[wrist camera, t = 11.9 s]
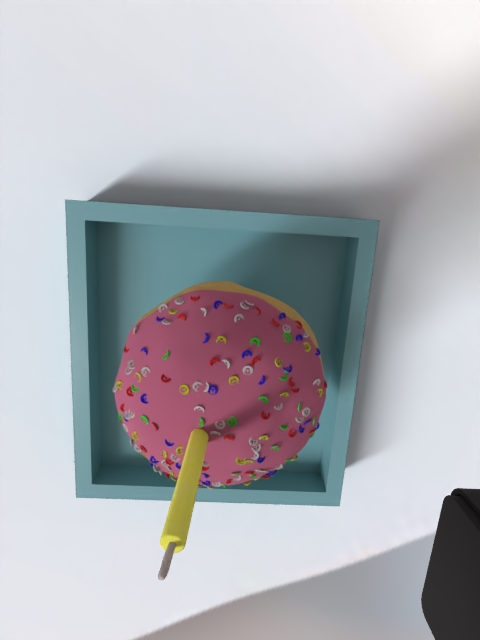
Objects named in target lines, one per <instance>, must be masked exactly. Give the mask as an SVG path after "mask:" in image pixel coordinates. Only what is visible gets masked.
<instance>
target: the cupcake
mask: <svg viewBox="0 0 480 640" xmlns="http://www.w3.org/2000/svg"><path fill="white" fill-rule="evenodd" d="M326 388H327V383H326V381H325V379H324V371H323V365H322V360H321V355H320V350H319V347H318V343H317V340H316V338H315V335H314V333H313V331H312V330H311V328H310V326H309V325H308V324H307V322H306V321H305V320H304V319H303V318H302V317H301V316H300V315H299V314H298V313H297V312H296V311H295V310H294V309H293V308H291V307H290V306H288V305H287V304H285V303H283V302H282V301H280V300H278V299H276V298H274V297H271V296H269V295H266V294H263V293H261V292H258V291H255V290H251V289H248V288H246V287H243V286H241V285H239V284H236V283H234V282H230V281H212V282H204V283H200V284H196V285H193V286H191V287H188V288H186V289H184V290H182V291H181V292H179V293H177V294H175V295H174V296H172V297H170V298H169V299H167V300H166V301H164V302H162V303H161V304H159V305H158V306H156V307H155V308H153V309H152V310H151V311H149V312H148V313H146V314H145V315H143V316H142V317H141V318H140V319H139V320H138V321H137V322H136V323H135V325H134V326H133V327H132V329H131V330H130V332H129V334H128V337H127V340H126V343H125V347H124V352H123V357H122V362H121V365H120V369H119V371H118V374H117V377H116V381H115V384H114V386H113V389H112V390H113V392H114V393H115V401H116V406H117V410H118V413H119V414H118V417H119V420H120V422H121V423H122V424H123V428H124V430H125V431H126V432H127V434H128V435H129V437H130V444H131V446H132V445H133V443H134V444H135V446H134V449H135V451H136V452H138V453H139V452H140V453H141V454H142V455H143V456H144V457H146V458H147V459H148V460H149V461H150V462H151V463H150V464H149V465H150V466H153V469H154V471H155V472H159V473H160V475H163V472H165V475H166V477H167V478H169V475H171V478H172V480H174V481H177V484H176V487H175V490H174V494H173V497H172V501H171V504H170V508H169V511H168V515H167V518H166V522H165V525H164V529H163V532H162V536H161V540H160V544H161V546H162V548H163V549H164V550H166V552H165V555H164V558H163V561H162V565H161V568H160V571H159V574H158V579H159V580H164V579H165V577H166V576H167V573H168V571H169V567H170V563H171V559H172V556H173V553H177V552H180V551H182V550H183V549H184V547H185V544H186V540H187V535H188V530H189V526H190V521H191V517H192V512H193V507H194V503H195V498H196V493H197V489H198V487H201V486H202V485H203V486H206V487H207V488H209V489H213V488H214V487H220V486H221V487H223V488H226V486H227V485H235V484H240V483H244V485H249V484H250V483H251V482H252V480H253V479H254V480H257V479H259V478H260V477H261V476H262V477H263V478H264V479H268V478H270V476H271V475H274V474H275V473H276V472H277V470H278V469H281V468H284V467H283V465H284V464H286V463H287V462H289V461H290V460H292V461H293V460H296V459H297V458H298V456H297V455H296V454H297V453H298V452H299V451H300V450H301V449H302V448H303V447H304V446H305V445H306V443H307V442H308V440H309V439H310V438H311V437H313V435H314V433H315V431H316V430H317V429H318V428H319V425H320V424H319V422H318V421H319V418H320V415H321V412H322V410H323V407H324V403H325V399H326ZM317 424H318V425H317ZM316 426H317V428H316ZM312 433H313V434H312ZM136 447H137V448H138V450H137V449H136ZM294 456H295V457H294ZM293 458H294V459H293ZM155 467H156V468H155ZM157 468H159V469H158V470H156V469H157ZM274 470H275V471H274ZM272 472H274V473H272ZM264 475H265V476H266V475H268V476H267V477H265V476H264ZM173 476H174V478H176V477H177V478H176V479H174V478H173ZM247 482H249V483H247ZM246 483H247V484H246Z"/></svg>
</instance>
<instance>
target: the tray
mask: <svg viewBox="0 0 480 640" xmlns="http://www.w3.org/2000/svg"><path fill="white" fill-rule="evenodd" d="M65 208H66V236H67V263H68V290H69V317H70V344H71V372H72V399H73V426H74V453H75V480H76V498H105V499H135V500H165V501H172V497H173V494H174V490H175V487H176V484H177V481H174V480H172V478H171V475H169V478H167V477H166V475H165V472H163V475H160V473H159V472H155V471H154V469H153V466H150V465H149V464H150V463H151V462H150V461H149V460H148V459H147V458H146V457H144V456H143V455H142V454H141V453H140V452H139V453H138V452H136V451H135V449H134V446H135V444H134V443H133V445H132V446H131V444H130V437H129V435H128V434H127V432H126V431H125V430H124V428H123V424H122V423H121V422H120V420H119V417H118V414H119V413H118V410H117V406H116V401H115V393H114V392H113V390H112V389H113V386H114V384H115V381H116V377H117V374H118V371H119V369H120V365H121V362H122V357H123V352H124V347H125V343H126V340H127V337H128V334H129V332H130V330H131V329H132V327H133V326H134V325H135V323H136V322H137V321H138V320H139V319H140V318H141V317H142V316H143V315H145V314H146V313H148V312H149V311H151V310H152V309H153V308H155V307H156V306H158V305H159V304H161V303H162V302H164V301H166V300H167V299H169V298H170V297H172V296H174V295H175V294H177V293H179V292H181V291H182V290H184V289H186V288H188V287H191V286H193V285H196V284H200V283H204V282H212V281H230V282H234V283H236V284H239V285H241V286H243V287H246V288H248V289H251V290H255V291H258V292H261V293H263V294H266V295H269V296H271V297H274V298H276V299H278V300H280V301H282V302H283V303H285V304H287V305H288V306H290V307H291V308H293V309H294V310H295V311H296V312H297V313H298V314H299V315H300V316H301V317H302V318H303V319H304V320H305V321H306V322H307V324H308V325H309V326H310V328H311V330H312V331H313V333H314V335H315V338H316V340H317V343H318V347H319V350H320V355H321V360H322V365H323V371H324V379H325V381H326V383H327V388H326V399H325V403H324V407H323V410H322V412H321V415H320V418H319V421H318V422H319V424H320V425H319V428H318V429H317V430H316V431H315V433H314V435H313V437H311V438H310V439H309V440H308V442H307V443H306V445H305V446H304V447H303V448H302V449H301V450H300V451H299V452H298V453H297V454H296V455H297V456H298V458H297V459H296V460H293V461H292V460H290V461H289V462H287V463H286V464H284V465H283V467H284V468H281V469H278V470H277V472H276V473H275V474H274V475H271V476H270V478H268V479H264V478H263V477H262V476H261V477H260V478H259V479H257V480H254V479H253V480H252V482H251V483H250V484H249V485H244V483H240V484H235V485H227V486H226V488H223V487H221V486H220V487H214V488H213V489H209V488H207V487H206V486H203V485H202V486H201V487H198V489H197V493H196V498H195V502H225V503H255V504H285V505H315V506H340V499H341V492H342V485H343V477H344V470H345V463H346V456H347V449H348V442H349V434H350V427H351V420H352V413H353V406H354V399H355V391H356V384H357V377H358V370H359V363H360V356H361V348H362V341H363V334H364V327H365V320H366V313H367V305H368V298H369V291H370V284H371V277H372V270H373V262H374V255H375V248H376V241H377V234H378V227H379V220H366V219H351V218H336V217H321V216H306V215H291V214H275V213H260V212H245V211H230V210H215V209H200V208H184V207H169V206H154V205H139V204H124V203H108V202H93V201H78V200H65ZM317 425H318V424H317ZM316 428H317V426H316ZM312 434H313V433H312ZM136 449H137V450H138V448H137V447H136ZM294 457H295V456H294ZM293 459H294V458H293ZM155 468H156V467H155ZM158 469H159V468H157V469H156V470H158ZM274 471H275V470H274ZM272 473H274V472H272ZM264 476H265V475H264ZM267 476H268V475H266V476H265V477H267ZM173 478H174V476H173ZM176 478H177V477H176ZM176 478H174V479H176ZM247 483H249V482H247ZM247 483H246V484H247Z"/></svg>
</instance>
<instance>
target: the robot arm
mask: <svg viewBox="0 0 480 640" xmlns="http://www.w3.org/2000/svg"><path fill="white" fill-rule="evenodd" d="M421 601H422V609H423V613H424V616H425V619H426V621H427V623H428V625H429V627H430V629H431V631H432V634H433V636H434V638H435V640H480V489H462V488H457V489H454V490H453V491H452V493H451V495H448V496H446V497H445V498H444V501H443V505H442V509H441V513H440V518H439V522H438V526H437V531H436V535H435V540H434V544H433V549H432V553H431V557H430V562H429V566H428V571H427V575H426V579H425V583H424V588H423V592H422V598H421Z"/></svg>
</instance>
